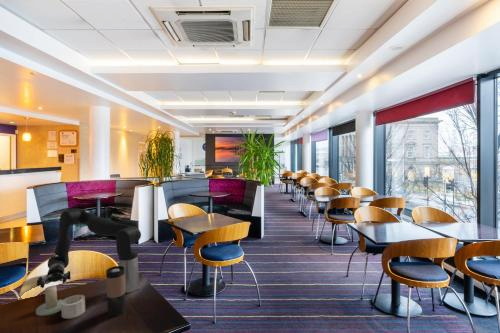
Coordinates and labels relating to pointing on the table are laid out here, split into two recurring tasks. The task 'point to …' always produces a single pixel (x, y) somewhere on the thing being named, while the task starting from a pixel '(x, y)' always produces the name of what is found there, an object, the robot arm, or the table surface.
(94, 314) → the table surface
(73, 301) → the bowl
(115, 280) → the travel mug
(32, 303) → the table surface
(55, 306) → the lid
